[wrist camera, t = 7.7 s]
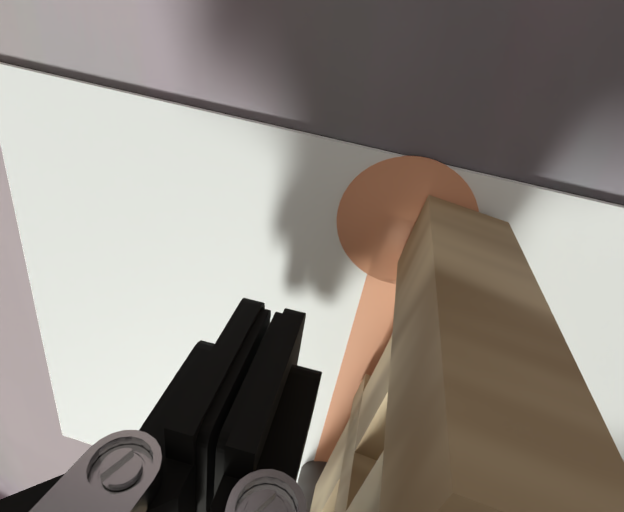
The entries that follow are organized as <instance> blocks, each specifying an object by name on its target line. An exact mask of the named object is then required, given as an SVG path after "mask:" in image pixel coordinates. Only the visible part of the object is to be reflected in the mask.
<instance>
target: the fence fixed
mask: <svg viewBox="0 0 624 512" xmlns="http://www.w3.org/2000/svg"><path fill="white" fill-rule="evenodd" d="M326 464H327V462H323V461H314V460H312V461H308V462H306V463H305V464H304V465H303V466H302V468H301V471H300V475H299V479H298V483H297V484H298V485H299V486H300V487H301V489H302V491H303V494H304V496H305V499H306V506H307V512H310V509H311V504H312V499H313V495H314V490H315V486H316V484H317V482H318V480H319V478H320V476H321V474H322V472H323V470H324V468H325V466H326Z"/></svg>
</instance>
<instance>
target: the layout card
mask: <svg viewBox="0 0 624 512" xmlns="http://www.w3.org/2000/svg"><path fill="white" fill-rule="evenodd" d="M0 144H1V149H2V154H3V158H4V163H5V168H6V173H7V177H8V182H9V187H10V191H11V196H12V201H13V205H14V210H15V215H16V220H17V224H18V229H19V234H20V238H21V243H22V248H23V252H24V257H25V262H26V267H27V271H28V276H29V281H30V285H31V290H32V295H33V299H34V304H35V309H36V314H37V318H38V323H39V328H40V332H41V337H42V342H43V346H44V351H45V356H46V360H47V365H48V370H49V375H50V379H51V384H52V389H53V393H54V398H55V403H56V407H57V412H58V417H59V422H60V426H61V431H62V435H63V436H66V437H69V438H72V439H76V440H79V441H82V442H85V443H88V444H91V445H94V444H95V443H96V442H97V441H99V440H100V439H102V438H104V437H105V436H107V435H109V434H111V433H115V432H118V431H122V430H139V429H140V428H141V426H142V425H143V423H144V422H145V420H146V419H147V417H148V416H149V414H150V413H151V411H152V410H153V408H154V407H155V405H156V404H157V402H158V401H159V399H160V398H161V396H162V395H163V393H164V391H165V390H166V388H167V387H168V385H169V384H170V382H171V381H172V379H173V378H174V376H175V375H176V373H177V372H178V370H179V369H180V367H181V366H182V364H183V363H184V361H185V360H186V358H187V357H188V355H189V354H190V352H191V351H192V349H193V348H194V346H195V345H196V344H197V342H199V341H200V340H202V341H206V342H210V343H214V344H215V343H216V341H217V339H218V338H219V336H220V334H221V333H222V331H223V329H224V328H225V326H226V324H227V323H228V321H229V319H230V318H231V316H232V314H233V313H234V311H235V309H236V308H237V306H238V305H239V303H240V301H241V300H242V298H247V299H251V300H255V301H259V302H263V303H265V309H268V310H271V318H270V322H271V320H272V318H273V316H274V314H275V312H280V313H283V311H284V309H285V308H287V309H291V310H295V311H300V312H304V313H306V318H305V324H304V330H303V335H302V341H301V347H300V352H299V358H298V364H297V365H298V366H302V367H306V368H309V369H313V370H317V371H321V372H322V376H321V380H320V385H319V389H318V394H317V398H316V402H315V407H314V411H313V415H312V419H311V423H310V427H309V431H308V436H307V440H306V444H305V448H304V452H303V456H302V460H301V464H300V468H299V472H298V476H297V480H296V482H297V483H298V479H299V475H300V471H301V468H302V466H303V465H304V464H305V463H306V462H308V461H312V460H314V461H323V462H328V460H329V458H330V456H331V454H332V452H333V450H334V448H335V446H336V444H337V442H338V440H339V438H340V436H341V434H342V432H343V430H344V429H345V427H346V425H347V423H348V421H349V419H350V415H351V409H352V403H353V398H354V396H355V394H356V392H357V390H358V388H359V386H360V384H361V382H362V380H363V378H364V376H365V374H367V375H370V376H371V375H372V373H373V372H374V370H375V368H376V366H377V364H378V362H379V360H380V358H381V356H382V354H383V352H384V350H385V348H386V346H387V344H388V342H389V340H390V338H391V336H392V332H393V319H394V305H395V292H396V278H397V265H398V260H399V258H400V256H401V254H402V252H403V249H404V247H405V245H406V243H407V241H408V239H409V236H410V234H411V232H412V230H413V228H414V226H415V223H416V221H417V219H418V217H419V215H420V213H421V210H422V208H423V206H424V204H425V202H426V199H427V197H428V195H431V196H434V197H437V198H440V199H442V200H445V201H448V202H451V203H454V204H457V205H460V206H463V207H466V208H468V209H471V210H474V211H477V212H480V213H483V214H486V215H489V216H491V217H494V218H497V219H500V220H503V221H506V222H509V224H510V226H511V228H512V230H513V232H514V235H515V237H516V239H517V241H518V243H519V245H520V247H521V249H522V251H523V253H524V255H525V257H526V260H527V262H528V264H529V266H530V268H531V270H532V272H533V274H534V276H535V278H536V280H537V282H538V284H539V287H540V289H541V291H542V293H543V295H544V297H545V299H546V301H547V303H548V305H549V307H550V309H551V312H552V314H553V316H554V318H555V320H556V322H557V324H558V326H559V328H560V330H561V332H562V334H563V337H564V339H565V341H566V343H567V345H568V347H569V349H570V351H571V353H572V355H573V357H574V359H575V361H576V364H577V366H578V368H579V370H580V372H581V374H582V376H583V378H584V380H585V382H586V384H587V386H588V389H589V391H590V393H591V395H592V397H593V399H594V401H595V403H596V405H597V407H598V409H599V411H600V413H601V416H602V418H603V420H604V422H605V424H606V426H607V428H608V430H609V432H610V434H611V436H612V438H613V441H614V443H615V445H616V447H617V449H618V451H619V453H620V455H621V457H622V459H623V461H624V206H623V205H619V204H614V203H610V202H606V201H601V200H597V199H593V198H588V197H584V196H580V195H575V194H571V193H567V192H562V191H558V190H554V189H549V188H545V187H541V186H536V185H532V184H528V183H523V182H519V181H515V180H510V179H506V178H502V177H497V176H493V175H489V174H484V173H480V172H475V171H471V170H467V169H462V168H458V167H454V166H449V165H445V164H443V163H441V162H439V161H436V160H433V159H430V158H427V157H421V156H406V155H402V154H397V153H393V152H389V151H384V150H380V149H376V148H371V147H367V146H363V145H358V144H354V143H350V142H345V141H341V140H337V139H332V138H328V137H324V136H319V135H315V134H311V133H306V132H302V131H298V130H293V129H289V128H285V127H280V126H276V125H272V124H267V123H263V122H259V121H254V120H250V119H246V118H241V117H237V116H233V115H228V114H224V113H220V112H215V111H211V110H207V109H202V108H198V107H194V106H189V105H185V104H180V103H176V102H172V101H167V100H163V99H159V98H154V97H150V96H146V95H141V94H137V93H133V92H128V91H124V90H120V89H115V88H111V87H107V86H102V85H98V84H94V83H89V82H85V81H81V80H76V79H72V78H68V77H63V76H59V75H55V74H50V73H46V72H42V71H37V70H33V69H29V68H24V67H20V66H16V65H11V64H7V63H3V62H0Z"/></svg>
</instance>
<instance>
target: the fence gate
mask: <svg viewBox="0 0 624 512" xmlns="http://www.w3.org/2000/svg"><path fill="white" fill-rule="evenodd" d="M310 512H624V461H623V459H622V457H621V455H620V453H619V451H618V449H617V447H616V445H615V443H614V441H613V438H612V436H611V434H610V432H609V430H608V428H607V426H606V424H605V422H604V420H603V418H602V416H601V413H600V411H599V409H598V407H597V405H596V403H595V401H594V399H593V397H592V395H591V393H590V391H589V389H588V386H587V384H586V382H585V380H584V378H583V376H582V374H581V372H580V370H579V368H578V366H577V364H576V361H575V359H574V357H573V355H572V353H571V351H570V349H569V347H568V345H567V343H566V341H565V339H564V337H563V334H562V332H561V330H560V328H559V326H558V324H557V322H556V320H555V318H554V316H553V314H552V312H551V309H550V307H549V305H548V303H547V301H546V299H545V297H544V295H543V293H542V291H541V289H540V287H539V284H538V282H537V280H536V278H535V276H534V274H533V272H532V270H531V268H530V266H529V264H528V262H527V260H526V257H525V255H524V253H523V251H522V249H521V247H520V245H519V243H518V241H517V239H516V237H515V235H514V232H513V230H512V228H511V226H510V224H509V222H506V221H503V220H500V219H497V218H494V217H491V216H489V215H486V214H483V213H480V212H477V211H474V210H471V209H468V208H466V207H463V206H460V205H457V204H454V203H451V202H448V201H445V200H442V199H440V198H437V197H434V196H431V195H428V197H427V199H426V202H425V204H424V206H423V208H422V210H421V213H420V215H419V217H418V219H417V221H416V223H415V226H414V228H413V230H412V232H411V234H410V236H409V239H408V241H407V243H406V245H405V247H404V249H403V252H402V254H401V256H400V258H399V260H398V265H397V278H396V292H395V305H394V319H393V332H392V336H391V338H390V340H389V342H388V344H387V346H386V348H385V350H384V352H383V354H382V356H381V358H380V360H379V362H378V364H377V366H376V368H375V370H374V372H373V373H372V375H371V376H370V375H367V374H365V376H364V378H363V380H362V382H361V384H360V386H359V388H358V390H357V392H356V394H355V396H354V398H353V403H352V409H351V415H350V419H349V421H348V423H347V425H346V427H345V429H344V430H343V432H342V434H341V436H340V438H339V440H338V442H337V444H336V446H335V448H334V450H333V452H332V454H331V456H330V458H329V460H328V462H327V464H326V466H325V468H324V470H323V472H322V474H321V476H320V478H319V480H318V482H317V484H316V486H315V490H314V495H313V499H312V504H311V509H310Z"/></svg>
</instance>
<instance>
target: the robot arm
mask: <svg viewBox="0 0 624 512" xmlns="http://www.w3.org/2000/svg"><path fill="white" fill-rule="evenodd" d="M270 318H271V310H268V309H265V303H263V302H259V301H255V300H251V299H247V298H242V300H241V301H240V303H239V305H238V306H237V308H236V309H235V311H234V313H233V314H232V316H231V318H230V319H229V321H228V323H227V324H226V326H225V328H224V329H223V331H222V333H221V334H220V336H219V338H218V339H217V341H216V343H215V344H214V343H210V342H206V341H202V340H200V341H199V342H197V344H196V345H195V346H194V348H193V349H192V351H191V352H190V354H189V355H188V357H187V358H186V360H185V361H184V363H183V364H182V366H181V367H180V369H179V370H178V372H177V373H176V375H175V376H174V378H173V379H172V381H171V382H170V384H169V385H168V387H167V388H166V390H165V391H164V393H163V395H162V396H161V398H160V399H159V401H158V402H157V404H156V405H155V407H154V408H153V410H152V411H151V413H150V414H149V416H148V417H147V419H146V420H145V422H144V423H143V425H142V426H141V428H140V429H139V430H122V431H118V432H115V433H111V434H109V435H107V436H105V437H104V438H102V439H100V440H99V441H97V442H96V443H95V444H94V445H93V446H91V447H90V448H89V449H88V450H87V451H86V452H85V453H84V454H83V455H82V456H81V457H80V458H79V460H78V461H77V462H76V463H75V464H74V465H73V466H72V467H71V468H70V469H69V470H68V471H67V472H66V473H65V474H63V475H60V476H58V477H56V478H53V479H51V480H48V481H46V482H43V483H41V484H38V485H36V486H33V487H31V488H28V489H26V490H23V491H21V492H18V493H16V494H13V495H11V496H8V497H6V498H3V499H1V500H0V512H307V506H306V499H305V496H304V494H303V491H302V489H301V487H300V486H299V485H298V484H297V482H296V480H297V476H298V472H299V468H300V464H301V460H302V456H303V452H304V448H305V444H306V440H307V436H308V431H309V427H310V423H311V419H312V415H313V411H314V407H315V402H316V398H317V394H318V389H319V385H320V380H321V376H322V372H321V371H317V370H313V369H309V368H306V367H302V366H298V365H297V364H298V358H299V352H300V347H301V341H302V335H303V330H304V324H305V318H306V313H304V312H300V311H295V310H291V309H287V308H285V309H284V311H283V313H280V312H275V314H274V316H273V318H272V320H271V322H270Z"/></svg>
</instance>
